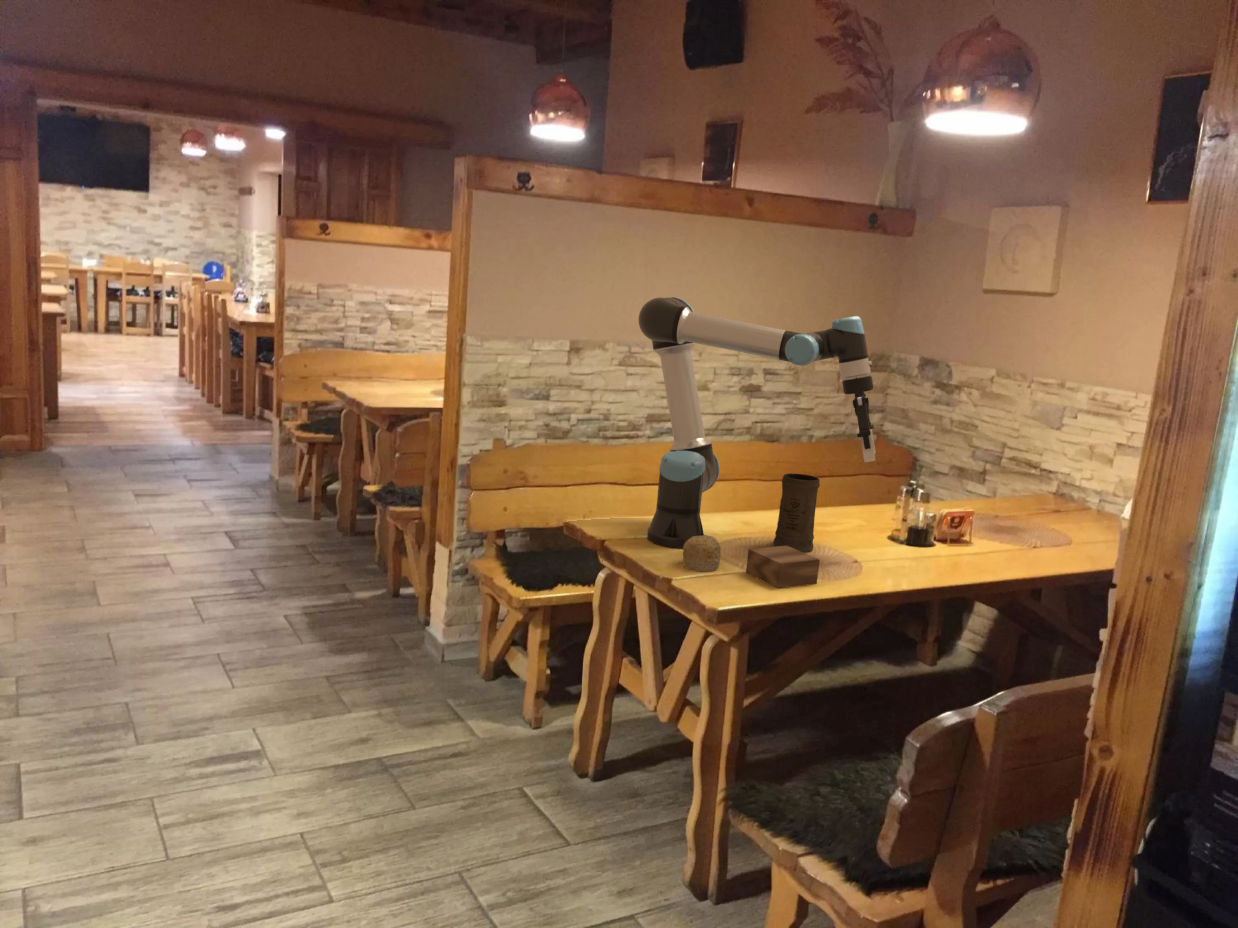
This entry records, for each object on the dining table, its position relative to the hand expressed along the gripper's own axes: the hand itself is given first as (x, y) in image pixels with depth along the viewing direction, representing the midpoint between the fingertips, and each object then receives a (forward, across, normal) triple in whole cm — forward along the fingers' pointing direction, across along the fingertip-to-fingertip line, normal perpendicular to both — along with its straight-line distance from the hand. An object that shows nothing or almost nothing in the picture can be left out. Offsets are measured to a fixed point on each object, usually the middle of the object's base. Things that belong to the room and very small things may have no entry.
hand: (870, 457), depth 253 cm
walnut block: (+22, -28, +24) cm, 43 cm away
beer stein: (+21, +5, +24) cm, 33 cm away
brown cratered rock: (+16, -28, +43) cm, 54 cm away
